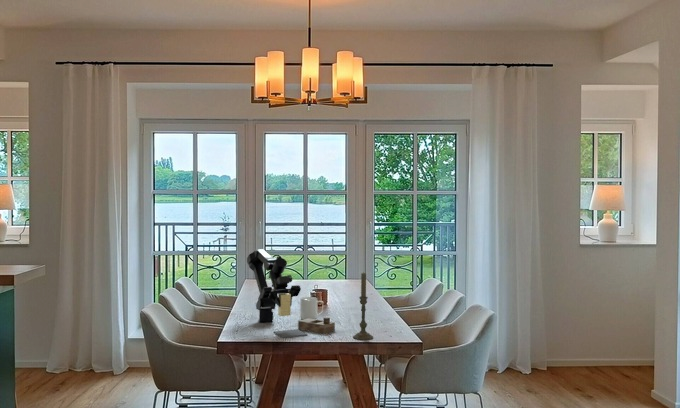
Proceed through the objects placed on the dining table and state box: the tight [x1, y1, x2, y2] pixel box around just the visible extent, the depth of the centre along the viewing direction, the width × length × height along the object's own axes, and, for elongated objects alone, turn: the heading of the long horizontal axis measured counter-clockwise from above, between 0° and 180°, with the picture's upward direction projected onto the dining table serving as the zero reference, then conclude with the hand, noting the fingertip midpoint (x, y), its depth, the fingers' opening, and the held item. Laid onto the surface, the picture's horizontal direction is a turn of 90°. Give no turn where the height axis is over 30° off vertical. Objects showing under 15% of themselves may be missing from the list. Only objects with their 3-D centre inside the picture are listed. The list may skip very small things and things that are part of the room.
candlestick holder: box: [352, 272, 374, 341], centre depth 277 cm, size 9×9×30 cm
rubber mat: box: [273, 328, 308, 339], centre depth 284 cm, size 12×12×1 cm
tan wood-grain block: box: [277, 293, 292, 317], centre depth 290 cm, size 3×5×10 cm, turn 117°
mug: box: [299, 296, 324, 320], centre depth 318 cm, size 12×9×11 cm
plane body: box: [297, 316, 336, 335], centre depth 293 cm, size 16×8×6 cm, turn 54°
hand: (285, 306), depth 289 cm, fingers closed on tan wood-grain block, 5 cm apart
